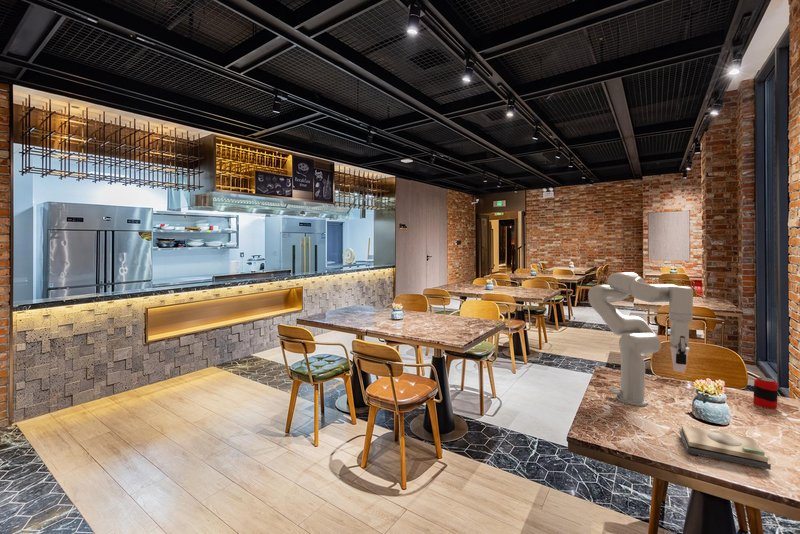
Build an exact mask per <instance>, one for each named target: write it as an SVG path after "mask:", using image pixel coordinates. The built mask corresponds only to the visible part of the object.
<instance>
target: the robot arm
mask: <svg viewBox="0 0 800 534" xmlns="http://www.w3.org/2000/svg"><path fill="white" fill-rule="evenodd" d="M606 281H607V284H597V285H594V286H592V287H590V288H589V290H588V292H587V293H588V294H587V296H588V297H587V298H588V302H589V304H590V306H591V308H592V309H593V310H594V311H595V312H596V313H597V314H598V315H599V316H600V317H601V319H602V320H603V322H604V323H605V324H606V325H607V327H608V328H609V329H610V331H611V333H613V334H614V335H616V336H620V338H619V339H618V347H619V351H620V387H619V388H611V387H609V392H608V393H611V394H612V395H616V396H615V397H616V400H618V402H621V403H624V404H625V405H629V406H636V407H644V406H648V405H649V400H648V399H647V398H646V397H645V391H646V390H645V387H646V386H645V385H646V384H645V383H646V363H645V360H644V358H643V356H642V355H644V354H645V355H646V354H655V353H658V352H659V351H660V350H661V348H662V342H661V339H660V337H659V336H658V335H657V334H656V332H655V331H654V330H653V329H652V327H651V326H650V325H649V324H648V323H647V322H646V321H645V320H644V319H643V318H642V317H640V316H638V315H625V314H623V313H622V312H621V311H620V310H619V309H618V307H617V306H615V305H614V304H612V303H610V302H617V301H618V302H619V301H623V300H625V299H626V298H627V297H629V296H632V297H633V298H634V299H636V300H640V301H643V302H645V303H646V302H647V303H668V320H669V321H670V322H671V323H670V329H669V330H670V331H669V332H670V333H669V342H670V344H671V345H673V346H675V345H677V353H676V363H677V364H684V365H686V366H687V363H686V347H688V348H689V343H690V323H692V322H693V307H694V290H693V288H692V287H691V286H688V285H687V286H685V285H676V284H671V283H658V284H657V283H654V284H652V283H651V284H650V283H646V282H645V280H644V278H642V277H641V276H639V274H637V273H636V272H632V271H631V272H630V271H629V272H628V271H627V272H614V273H611V274H609V276H608V277H607V280H606ZM678 345H679V346H678ZM679 348H680V349H679Z"/></svg>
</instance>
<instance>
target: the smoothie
mask: <svg viewBox="0 0 800 534" xmlns="http://www.w3.org/2000/svg"><path fill="white" fill-rule="evenodd" d="M678 346H679V345H678ZM679 349H680V348H679ZM690 349H691V348H690V347H689V346H688V347H686V365H684V364H677V363H676V353H677V345H675V346H673V345H672V344H671V345H669V350H670V353H671V354H670V355H671V362H672V369H673V371H674V372H676V373H685V372H686V369H687V363H688V357H689V352H690V351H691V350H690Z"/></svg>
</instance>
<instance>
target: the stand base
mask: <svg viewBox="0 0 800 534" xmlns="http://www.w3.org/2000/svg"><path fill="white" fill-rule="evenodd" d="M678 432H679V435H680V438H681V440H682V442H683V443H682V444H683V445H684V446H683V447H684V448H685V450H686V452H687V454H688V455H690V456H693V457H699V456H702V457H707V458H712V459H716V460H722V461H726V462H727V461H728V462H731V463H736V464H740V465H741V464H742V465H746V466H749V467H750V466H751V467H754V468H761V469H765V470H770V471H771V468H772V466H771V465H772V464H771V463H770V461H769V460H768V462H764V461H759V460H754V459H749V458H744V457H740V456H735V455H730V454H725V453H720V452H716V451H711V450H706V449H701V448H696V447H691V446H689V445H688V442H687V440H686V438H685V436H684V433H683V431H682V428H679V430H678Z"/></svg>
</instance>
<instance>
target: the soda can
mask: <svg viewBox="0 0 800 534" xmlns="http://www.w3.org/2000/svg"><path fill="white" fill-rule="evenodd" d="M778 388H779V384H778V382H777V381H776V380H775V379H773V378H769V377H763V376H758V377H756V378H755V379H754V381H753V401H752V402H753V404H754V405H755V406H758V407H760V408H763V409H769V410H770V409H771V410H774V409H778V394H779V393H778V392H779V391H778V390H779V389H778Z"/></svg>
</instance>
